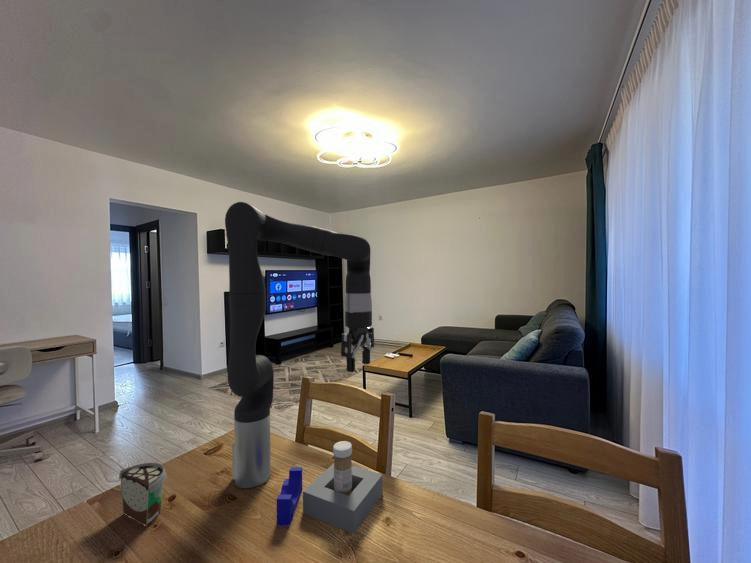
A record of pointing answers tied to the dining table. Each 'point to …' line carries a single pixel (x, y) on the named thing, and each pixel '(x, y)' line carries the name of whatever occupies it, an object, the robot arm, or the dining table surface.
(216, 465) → the dining table surface
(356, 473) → the well block
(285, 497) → the cable clip
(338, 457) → the sprinkles bottle
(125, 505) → the food container
